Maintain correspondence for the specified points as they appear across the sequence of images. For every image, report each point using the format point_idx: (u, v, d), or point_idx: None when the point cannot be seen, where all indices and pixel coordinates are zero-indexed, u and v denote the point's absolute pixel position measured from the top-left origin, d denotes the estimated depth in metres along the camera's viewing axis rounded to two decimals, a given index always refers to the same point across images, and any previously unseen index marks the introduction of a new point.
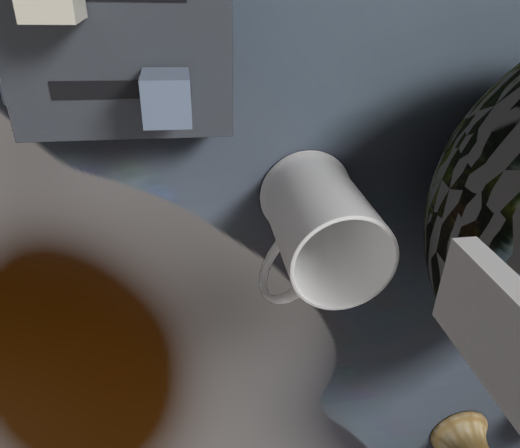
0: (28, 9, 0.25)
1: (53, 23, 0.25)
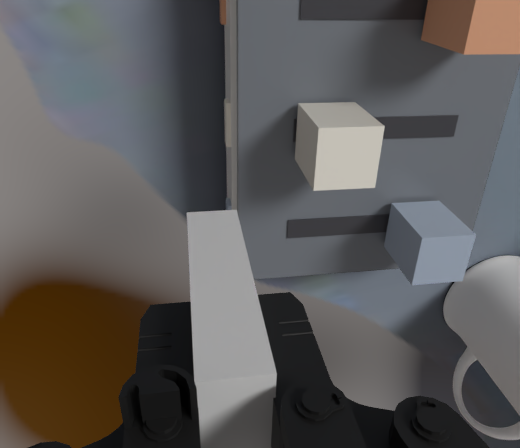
0: (329, 175, 0.21)
1: (351, 187, 0.22)
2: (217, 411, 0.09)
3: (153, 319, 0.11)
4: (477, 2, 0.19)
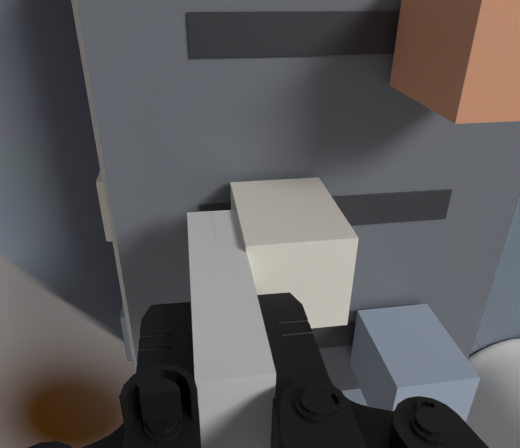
0: None
1: None
2: (217, 411, 0.09)
3: (154, 319, 0.11)
4: (478, 35, 0.10)
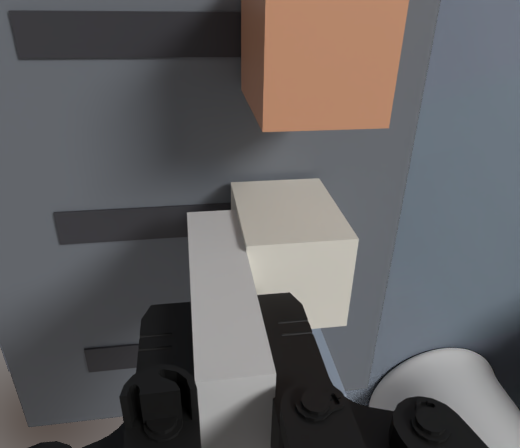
0: None
1: None
2: (218, 410, 0.09)
3: (153, 319, 0.11)
4: (269, 39, 0.10)
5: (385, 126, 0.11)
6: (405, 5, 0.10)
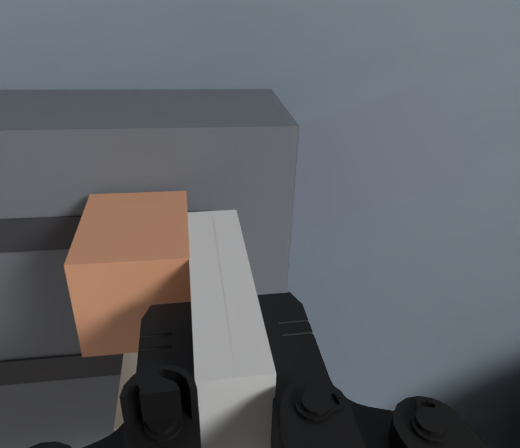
0: None
1: None
2: (218, 410, 0.09)
3: (154, 319, 0.11)
4: (75, 299, 0.12)
5: None
6: (187, 270, 0.12)
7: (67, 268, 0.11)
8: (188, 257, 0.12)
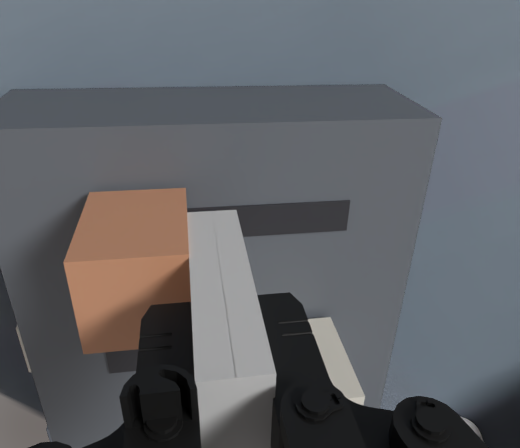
0: None
1: None
2: (218, 410, 0.09)
3: (154, 319, 0.11)
4: (75, 296, 0.12)
5: None
6: (186, 267, 0.12)
7: (67, 265, 0.11)
8: (187, 253, 0.12)
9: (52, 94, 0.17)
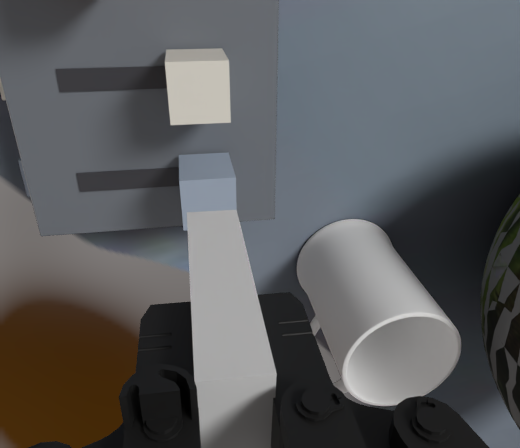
0: (183, 109, 0.23)
1: (207, 122, 0.23)
2: (217, 410, 0.09)
3: (153, 319, 0.11)
4: None
5: None
6: None
7: None
8: None
9: None
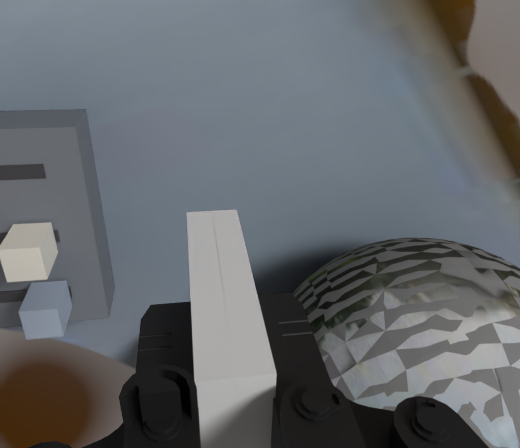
0: (14, 273, 0.37)
1: (31, 279, 0.37)
2: (217, 410, 0.09)
3: (154, 319, 0.11)
4: None
5: None
6: None
7: None
8: None
9: None
